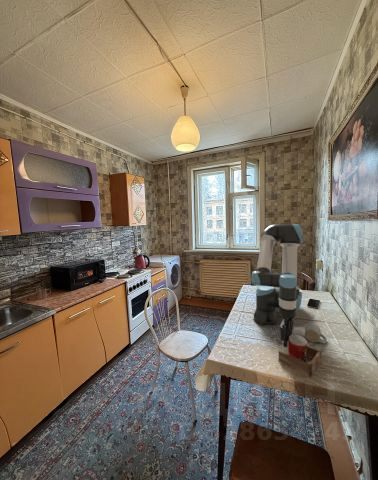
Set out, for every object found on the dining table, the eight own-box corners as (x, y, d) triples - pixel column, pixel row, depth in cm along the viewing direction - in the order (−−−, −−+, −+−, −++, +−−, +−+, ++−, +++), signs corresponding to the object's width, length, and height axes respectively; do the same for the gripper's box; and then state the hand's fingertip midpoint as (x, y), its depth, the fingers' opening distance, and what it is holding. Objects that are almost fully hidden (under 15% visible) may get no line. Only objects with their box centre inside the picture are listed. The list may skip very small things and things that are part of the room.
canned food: (299, 369, 92) (299, 346, 91) (284, 358, 99) (284, 337, 98) (310, 363, 95) (311, 341, 94) (295, 353, 102) (295, 332, 101)
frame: (290, 347, 107) (290, 338, 106) (321, 360, 96) (321, 351, 96) (278, 360, 98) (278, 351, 97) (310, 377, 87) (311, 366, 87)
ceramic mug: (304, 340, 112) (304, 327, 111) (304, 333, 119) (305, 321, 118) (327, 347, 106) (328, 333, 106) (326, 338, 113) (327, 325, 112)
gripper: (285, 300, 106) (284, 342, 108) (273, 308, 97) (272, 354, 100) (300, 304, 100) (299, 349, 103) (289, 313, 92) (288, 361, 94)
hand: (286, 351), depth 101 cm, fingers closed
